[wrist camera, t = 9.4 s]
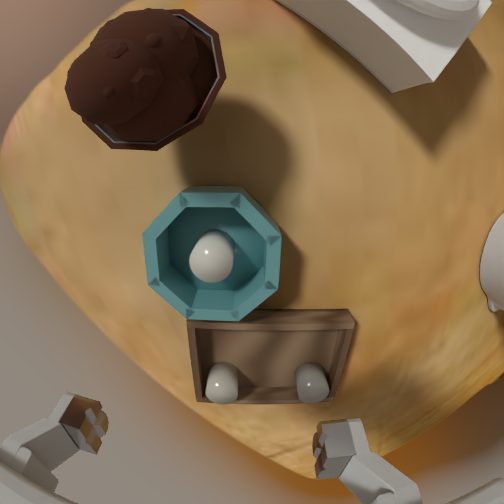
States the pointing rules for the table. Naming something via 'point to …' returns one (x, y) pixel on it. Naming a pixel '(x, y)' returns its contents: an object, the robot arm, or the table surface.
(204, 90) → the ice cream bowl
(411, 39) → the butter dish
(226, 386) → the pebble
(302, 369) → the pebble
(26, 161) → the table surface
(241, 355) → the tray
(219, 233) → the pebble
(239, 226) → the bowl
